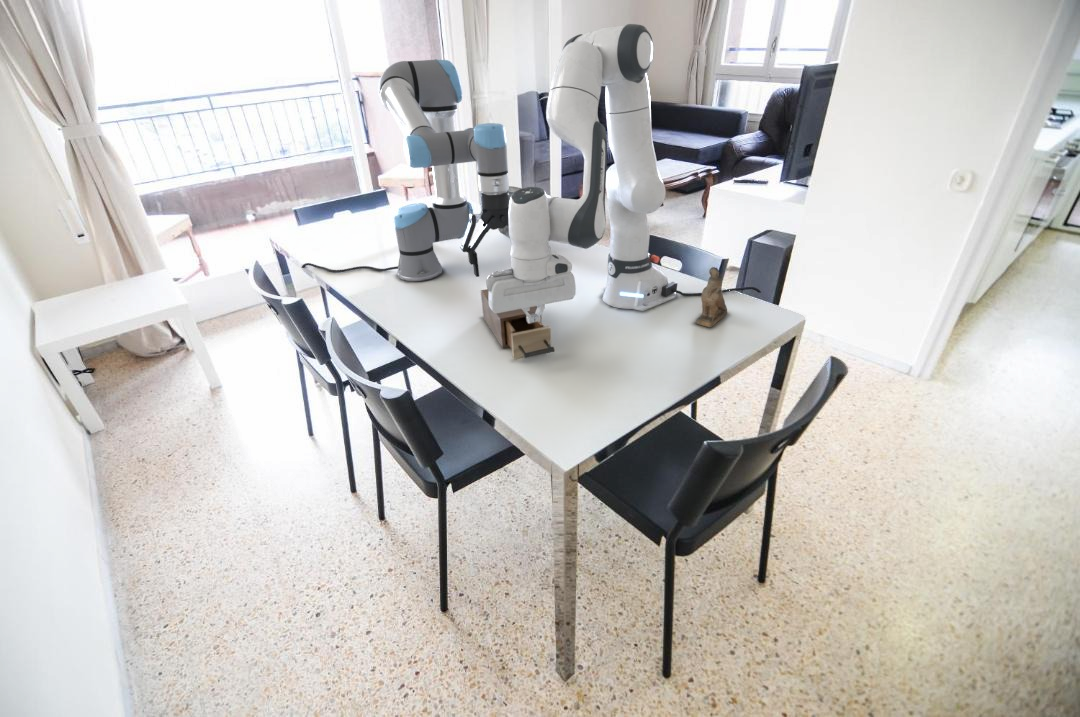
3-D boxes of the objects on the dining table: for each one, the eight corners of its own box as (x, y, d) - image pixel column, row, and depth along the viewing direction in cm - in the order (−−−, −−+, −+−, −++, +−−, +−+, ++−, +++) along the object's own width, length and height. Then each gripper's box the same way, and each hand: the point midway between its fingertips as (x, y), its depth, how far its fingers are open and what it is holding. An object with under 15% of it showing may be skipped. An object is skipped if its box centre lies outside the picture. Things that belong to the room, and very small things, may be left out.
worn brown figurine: (709, 335, 136) (713, 280, 124) (691, 329, 139) (693, 274, 128) (730, 313, 142) (736, 258, 130) (712, 307, 145) (716, 253, 133)
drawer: (558, 361, 121) (558, 337, 117) (520, 370, 118) (519, 345, 115) (527, 321, 140) (526, 299, 136) (493, 328, 137) (491, 305, 133)
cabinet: (542, 340, 132) (541, 310, 128) (502, 348, 129) (500, 318, 125) (519, 310, 148) (517, 283, 143) (483, 317, 145) (480, 290, 140)
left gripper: (448, 200, 118) (459, 283, 130) (545, 189, 125) (548, 268, 137) (442, 194, 125) (453, 273, 136) (535, 183, 131) (538, 259, 143)
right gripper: (489, 278, 104) (494, 336, 111) (578, 263, 110) (578, 319, 117) (481, 268, 109) (487, 324, 116) (567, 254, 115) (567, 308, 122)
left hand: (500, 271), depth 136 cm, fingers open, 13 cm apart
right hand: (533, 321), depth 117 cm, fingers closed
